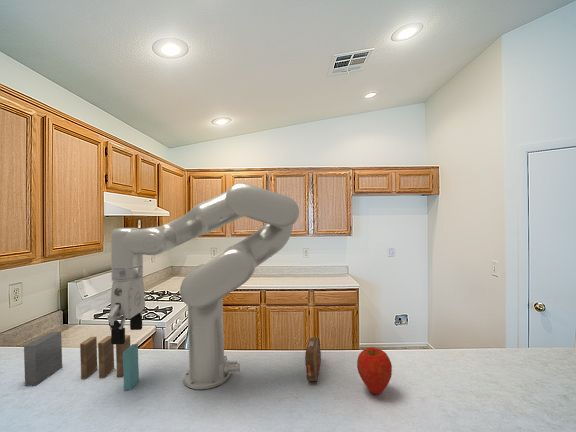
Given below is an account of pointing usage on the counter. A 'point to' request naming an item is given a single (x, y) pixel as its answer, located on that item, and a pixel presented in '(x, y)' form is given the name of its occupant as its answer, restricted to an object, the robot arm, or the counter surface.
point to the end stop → (42, 358)
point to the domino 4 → (130, 366)
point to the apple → (374, 369)
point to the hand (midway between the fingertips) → (127, 336)
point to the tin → (313, 359)
